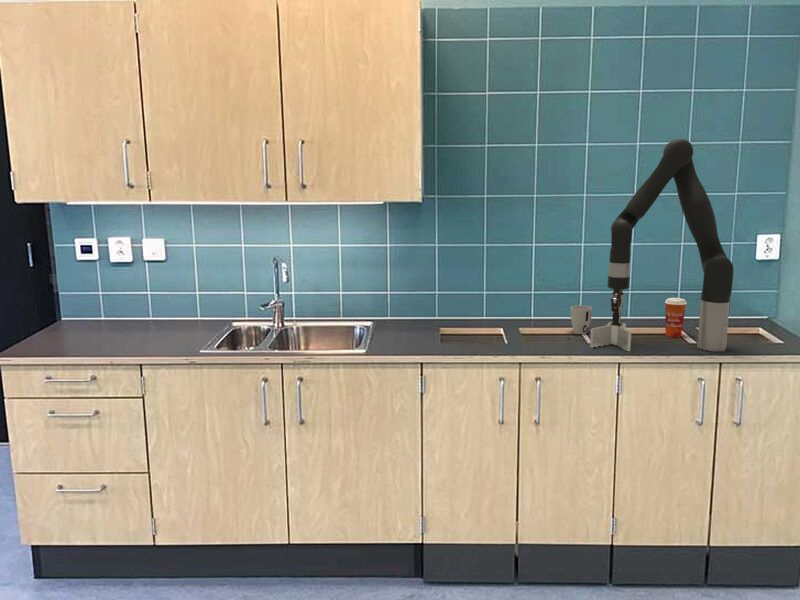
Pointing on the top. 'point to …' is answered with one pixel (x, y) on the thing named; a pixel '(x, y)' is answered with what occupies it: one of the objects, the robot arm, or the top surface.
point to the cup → (581, 318)
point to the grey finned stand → (611, 336)
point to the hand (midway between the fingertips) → (616, 321)
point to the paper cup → (674, 316)
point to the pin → (619, 319)
